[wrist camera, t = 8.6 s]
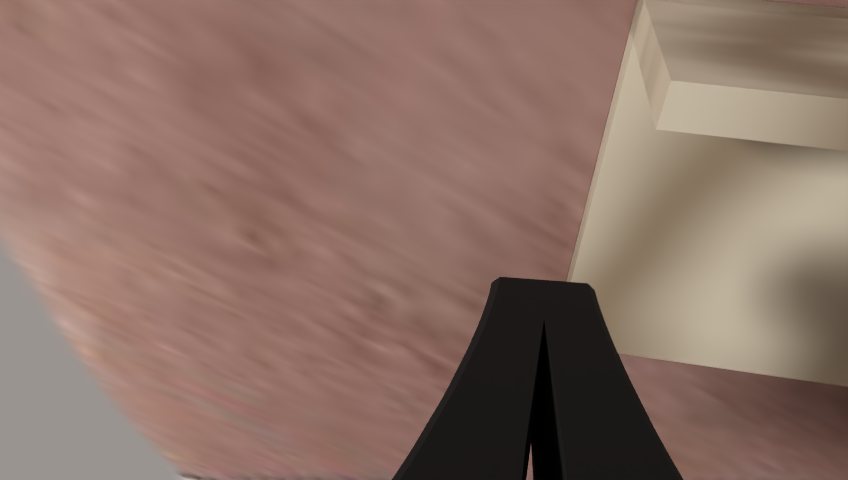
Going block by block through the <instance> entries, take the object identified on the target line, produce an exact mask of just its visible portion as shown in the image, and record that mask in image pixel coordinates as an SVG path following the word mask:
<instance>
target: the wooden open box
mask: <svg viewBox="0 0 848 480" xmlns="http://www.w3.org/2000/svg"><path fill="white" fill-rule="evenodd" d="M567 282H577V283H588V284H589V285H590V286H591V287H592V288H593V289H594V290H595V293H596V297H597V300H598V303H599V306H600V309H601V312H602V315H603V318H604V320H605V323H606V326H607V328H608V331H609V333H610V336H611V338H612V341H613V343H614V345H615V348H616V350H617V352H618V353H619V354H626V355H633V356H640V357H647V358H653V359H660V360H667V361H674V362H681V363H688V364H695V365H701V366H708V367H715V368H722V369H729V370H736V371H743V372H749V373H756V374H763V375H770V376H777V377H784V378H791V379H797V380H804V381H811V382H818V383H825V384H832V385H839V386H846V387H848V8H838V7H827V6H817V5H806V4H795V3H784V2H774V1H763V0H638V1H637V5H636V9H635V13H634V17H633V21H632V25H631V29H630V32H629V36H628V40H627V44H626V48H625V52H624V56H623V60H622V64H621V68H620V72H619V76H618V80H617V84H616V88H615V92H614V96H613V100H612V104H611V108H610V112H609V116H608V120H607V124H606V127H605V131H604V135H603V139H602V143H601V147H600V151H599V155H598V159H597V163H596V167H595V171H594V175H593V179H592V183H591V187H590V191H589V195H588V199H587V203H586V207H585V211H584V215H583V219H582V222H581V226H580V230H579V234H578V238H577V242H576V246H575V250H574V254H573V258H572V262H571V266H570V270H569V274H568V278H567Z"/></svg>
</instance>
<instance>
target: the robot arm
mask: <svg viewBox="0 0 848 480" xmlns="http://www.w3.org/2000/svg"><path fill="white" fill-rule="evenodd" d="M530 446H531V447H532V465H533V480H683V478H682V477H681V475H680V473H679V471H678V470H677V468H676V466H675V465H674V463H673V461H672V459H671V458H670V456H669V454H668V452H667V451H666V449H665V447H664V445H663V443H662V442H661V440H660V438H659V436H658V434H657V432H656V430H655V429H654V427H653V425H652V423H651V421H650V419H649V417H648V415H647V413H646V411H645V409H644V407H643V405H642V403H641V401H640V399H639V397H638V395H637V393H636V391H635V389H634V387H633V385H632V383H631V381H630V379H629V377H628V375H627V373H626V370H625V368H624V366H623V364H622V362H621V359H620V357H619V355H618V352H617V350H616V348H615V345H614V343H613V341H612V338H611V336H610V333H609V331H608V328H607V326H606V323H605V320H604V318H603V315H602V312H601V309H600V306H599V303H598V300H597V297H596V293H595V290H594V289H593V288H592V287H591V286H590V285H589V284H588V283H577V282H563V281H549V280H535V279H521V278H507V277H499V278H498V279H496V280H495V281H493V282H492V284H491V288H490V293H489V296H488V300H487V303H486V306H485V309H484V311H483V314H482V317H481V319H480V322H479V324H478V327H477V329H476V331H475V334H474V336H473V338H472V340H471V343H470V345H469V347H468V349H467V351H466V353H465V355H464V357H463V359H462V361H461V363H460V365H459V367H458V369H457V371H456V373H455V375H454V377H453V379H452V381H451V383H450V385H449V387H448V389H447V391H446V392H445V394H444V396H443V398H442V400H441V401H440V403H439V405H438V407H437V408H436V410H435V412H434V413H433V415H432V417H431V418H430V420H429V422H428V423H427V425H426V427H425V428H424V430H423V432H422V433H421V435H420V437H419V438H418V440H417V442H416V443H415V445H414V447H413V448H412V450H411V451H410V453H409V455H408V456H407V458H406V459H405V461H404V462H403V464H402V465H401V467H400V468H399V470H398V471H397V473H396V474H395V476H394V477H393V479H392V480H526V476H527V469H528V461H529V453H530Z"/></svg>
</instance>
